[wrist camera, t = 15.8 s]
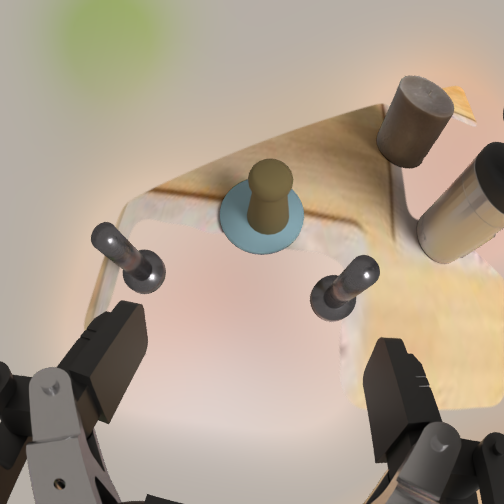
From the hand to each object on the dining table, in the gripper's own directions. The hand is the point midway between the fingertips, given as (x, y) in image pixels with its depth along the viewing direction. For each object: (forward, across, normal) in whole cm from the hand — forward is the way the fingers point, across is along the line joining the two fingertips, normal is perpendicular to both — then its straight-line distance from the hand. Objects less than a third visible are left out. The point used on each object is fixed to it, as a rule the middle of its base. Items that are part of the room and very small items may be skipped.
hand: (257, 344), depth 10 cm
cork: (+35, +1, +8) cm, 36 cm away
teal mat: (+36, +2, +8) cm, 36 cm away
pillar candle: (+48, -21, -5) cm, 53 cm away
